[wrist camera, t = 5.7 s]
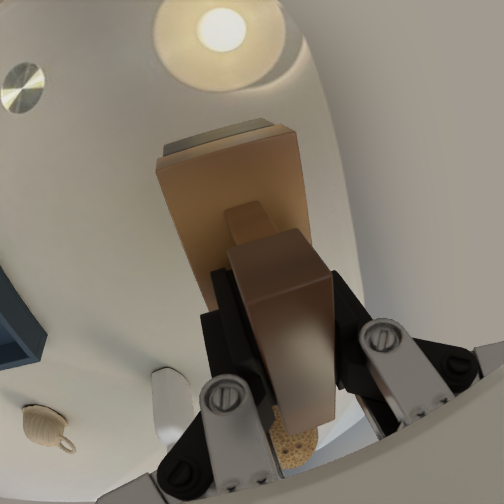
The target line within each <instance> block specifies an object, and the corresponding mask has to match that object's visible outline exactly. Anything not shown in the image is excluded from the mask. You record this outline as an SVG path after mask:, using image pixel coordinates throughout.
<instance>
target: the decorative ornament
mask: <svg viewBox="0 0 504 504" xmlns="http://www.w3.org/2000/svg"><path fill="white" fill-rule="evenodd" d="M22 413H23V429H24V432H25V435H26V436H27V438H28V439H29V440H31V441H32V442H34V443H36V444H39V445H42V446H47V447H53V446H57V445H58V446H59V447H60V448H61V449H62V450H63V451H65V452H67V453H69V454H75V453H76V448H75V446H74V445H73V443H72V442H71V441H70V440H68V439H67V438H66V437H64V436H63V432H64V428H65V427H66V426H67V423H66V420H65V419H63V417H62V416H60V415H58V414H57V413H56V412H55V411H53V410H51V409H50V408H48V407H44V406H40V405H34V406H28V407H24V408H23V409H22ZM62 440H63V441H65V442H66V443H68V444H69V445H70V446H71V448H72V451H71V450H69V449H67V448H65V447H64V446H63V445H62V444H61V441H62Z"/></svg>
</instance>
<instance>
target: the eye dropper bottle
mask: <svg viewBox="0 0 504 504" xmlns="http://www.w3.org/2000/svg"><path fill="white" fill-rule="evenodd" d="M151 379H152V400H153V415H154V425H155V431H156V434H157V436H158V438H159V440H160V441H161V442H162V444H163V445H164V446H166V447H167V453H168V452H169V451H170V450H171V449H172V447H173V446H174V445H175V443H176V442H177V441H178V440H179V438H180V437H181V436H182V434H183V433H184V432H185V430H186V429H187V428H188V426H189V425H190V424H191V423H192V421H193V420H194V419H195V413H194V407H193V401H192V394H191V389H190V385H189V383H188V381H187V380H186V379H185V378H184V377H183V376H182V375H181V374H180V373H178V372H176V371H175V370H173V369H170V368H164V369H161V370H158V371H156V372H154V373H152V376H151Z"/></svg>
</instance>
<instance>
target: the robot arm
mask: <svg viewBox="0 0 504 504" xmlns="http://www.w3.org/2000/svg"><path fill="white" fill-rule="evenodd" d="M331 273H332V274H333V291H334V315H335V357H336V385H337V387H338V389H339V390H342V389H344V388H345V389H346V391H347V392H348V393H352V394H355V396H356V399H357V401H358V402H359V404H360V406H361V408H362V410H363V412H364V413H365V415H366V417H367V419H368V421H369V423H370V424H371V426H372V428H373V430H374V432H375V434H376V436H377V438H378V439H379V441H378V442H375V443H373V444H371V445H369V446H367V447H365V448H362V449H360V450H358V451H356V452H354V453H351V454H349V455H346V456H344V457H342V458H339V459H337V460H334V461H332V462H329V463H327V464H324V465H321V466H319V467H316V468H313V469H311V470H308V471H305V472H302V473H299V474H296V475H293V476H291V477H287V478H285V476H284V473H283V471H282V467H281V464H280V461H279V458H278V455H277V452H276V449H275V446H274V443H273V440H272V437H271V434H270V431H269V430H270V428H271V426H272V425H273V423H274V421H275V420H276V418H275V414H274V411H273V408H272V406H275V405H277V403H276V400H275V397H274V394H273V391H272V388H271V385H270V382H269V379H268V376H267V373H266V370H265V367H264V364H263V361H262V358H261V355H260V352H259V349H258V346H257V343H256V340H255V337H254V334H253V332H252V329H251V326H250V323H249V320H248V317H247V314H246V311H245V308H244V305H243V302H242V299H241V296H240V292H239V289H238V286H237V283H236V280H235V277H234V273H233V270H232V269H231V270H228V271H226V269H225V267H223V268H220V269H217V270H214V271H211V272H210V275H211V280H212V284H213V288H214V292H215V296H216V300H217V304H218V308H219V309H217V310H214V311H211V312H208V313H204V314H201V315H200V319H201V325H202V330H203V336H204V341H205V346H206V351H207V356H208V361H209V366H210V371H211V376H212V379H211V380H209V381H208V382H207V383H206V384H205V385H204V387H203V388H202V390H201V392H200V395H199V403H200V409H201V411H200V412H199V413H198V415H197V416H196V417H195V419H194V420H193V421H192V423H191V424H190V425H189V426H188V428H187V429H186V430H185V432H184V433H183V434H182V436H181V437H180V438H179V440H178V441H177V442H176V443H175V445H174V446H173V447H172V449H171V450H170V451H169V452H168V454H167V455H166V456H165V458H164V459H163V460H162V461H161V463H160V465H159V466H158V469H157V470H156V471H154V472H152V473H151V474H149V473H148V472H147V473H145V474H143V475H141V476H140V477H138V478H136V479H134V480H132V481H130V482H128V483H126V484H124V485H122V486H120V487H118V488H116V489H114V490H112V491H110V492H108V493H106V494H104V495H102V496H101V497H100V498H98V499H97V501H96V503H95V504H504V341H502V342H498V343H494V344H489V345H484V346H479V347H474V349H473V351H468V350H467V349H464V348H462V347H457V346H451V345H446V344H441V343H436V342H431V341H426V340H421V339H417V338H412V337H411V336H410V335H409V334H408V332H407V331H406V330H405V329H404V327H403V326H402V325H400V324H399V323H398V322H396V321H394V320H392V319H387V318H378V319H374V320H373V319H372V318H371V316H370V315H369V314H368V312H367V311H366V310H365V308H364V307H363V305H362V304H361V303H360V301H359V300H358V299H357V297H356V296H355V295H354V293H353V292H352V291H351V289H350V288H349V287H348V285H347V284H346V283H345V281H344V280H343V279H342V277H341V276H340V275H339V273H338V272H337V271H335V270H333V271H331Z"/></svg>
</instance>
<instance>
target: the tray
mask: <svg viewBox="0 0 504 504" xmlns="http://www.w3.org/2000/svg"><path fill="white" fill-rule="evenodd" d="M46 339H47V333H46V332H45V331H44V329H43V328H42V327H41V326H40V324H39V323H38V322H37V320H36V319H35V317H34V316H33V315H32V313H31V312H30V311H29V309H28V308H27V306H26V305H25V304H24V302H23V301H22V299H21V298H20V296H19V295H18V293H17V292H16V290H15V289H14V287H13V286H12V284H11V283H10V281H9V279H8V278H7V276H6V275H5V273H4V272H3V270H2V268H1V267H0V371H1V370H5V369H10V368H14V367H19V366H23V365H27V364H32V363H36V362H40V360H41V356H42V353H43V349H44V346H45V342H46Z"/></svg>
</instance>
